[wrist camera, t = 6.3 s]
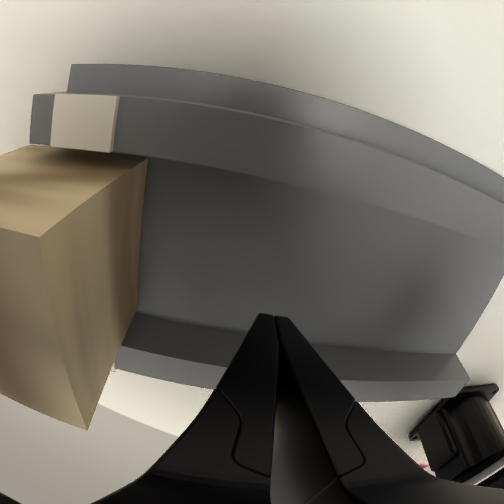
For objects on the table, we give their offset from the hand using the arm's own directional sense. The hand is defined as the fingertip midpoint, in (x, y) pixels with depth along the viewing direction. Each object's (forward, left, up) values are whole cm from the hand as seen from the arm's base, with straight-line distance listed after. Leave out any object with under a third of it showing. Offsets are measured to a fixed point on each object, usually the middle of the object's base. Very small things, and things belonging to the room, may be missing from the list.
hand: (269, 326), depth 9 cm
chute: (-2, 0, -4) cm, 5 cm away
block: (+7, 0, -3) cm, 8 cm away
